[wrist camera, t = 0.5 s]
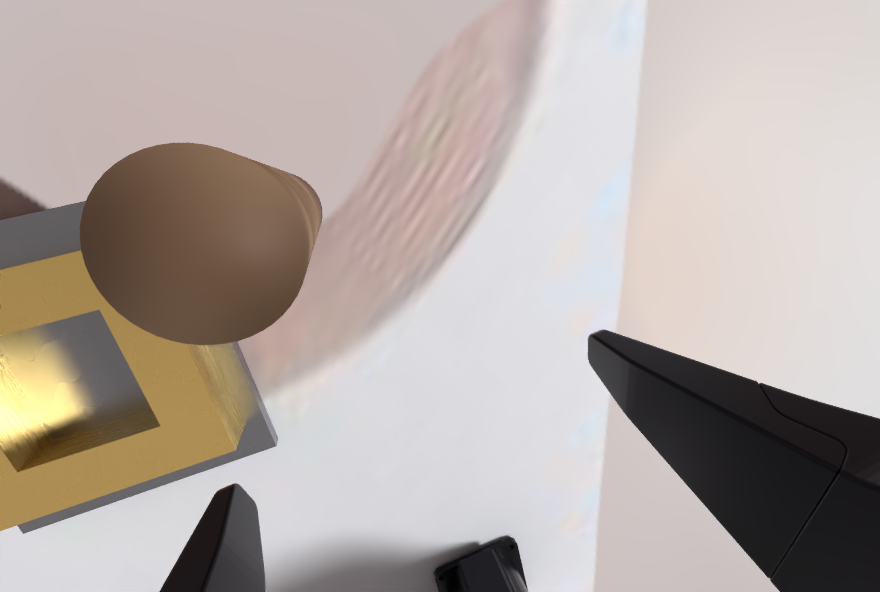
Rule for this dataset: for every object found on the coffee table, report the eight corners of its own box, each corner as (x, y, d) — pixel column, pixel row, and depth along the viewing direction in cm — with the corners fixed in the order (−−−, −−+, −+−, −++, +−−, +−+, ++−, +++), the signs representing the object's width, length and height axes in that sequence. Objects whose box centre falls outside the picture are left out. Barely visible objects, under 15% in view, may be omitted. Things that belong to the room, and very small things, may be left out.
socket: (277, 438, 24) (270, 474, 21) (33, 521, 22) (-16, 576, 19) (170, 183, 20) (139, 183, 16) (-153, 256, 17) (-259, 270, 14)
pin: (331, 238, 22) (332, 313, 9) (257, 258, 21) (138, 370, 8) (308, 163, 21) (268, 121, 8) (227, 181, 20) (34, 170, 7)
